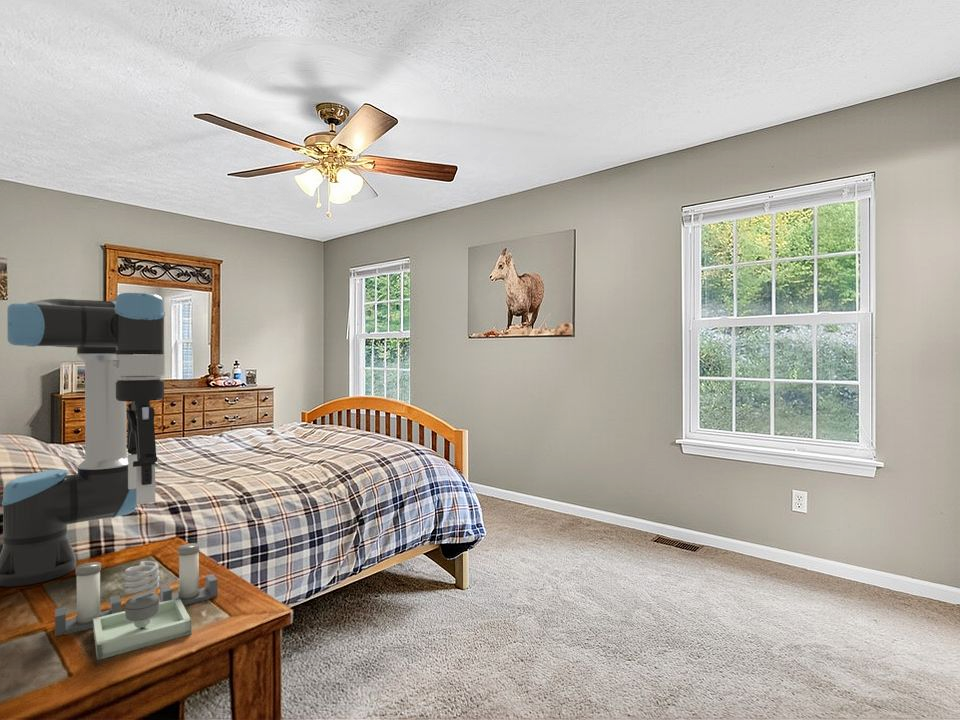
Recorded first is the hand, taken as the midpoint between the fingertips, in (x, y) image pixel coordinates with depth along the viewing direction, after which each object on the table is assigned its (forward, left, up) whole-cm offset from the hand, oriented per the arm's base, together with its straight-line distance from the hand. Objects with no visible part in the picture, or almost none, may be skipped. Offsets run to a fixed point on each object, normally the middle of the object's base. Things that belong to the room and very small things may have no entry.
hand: (140, 495), depth 100 cm
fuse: (-10, -7, -25) cm, 28 cm away
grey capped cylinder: (-10, +10, -25) cm, 29 cm away
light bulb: (0, 0, -24) cm, 24 cm away
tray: (0, 0, -25) cm, 25 cm away
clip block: (-10, +1, -25) cm, 27 cm away
